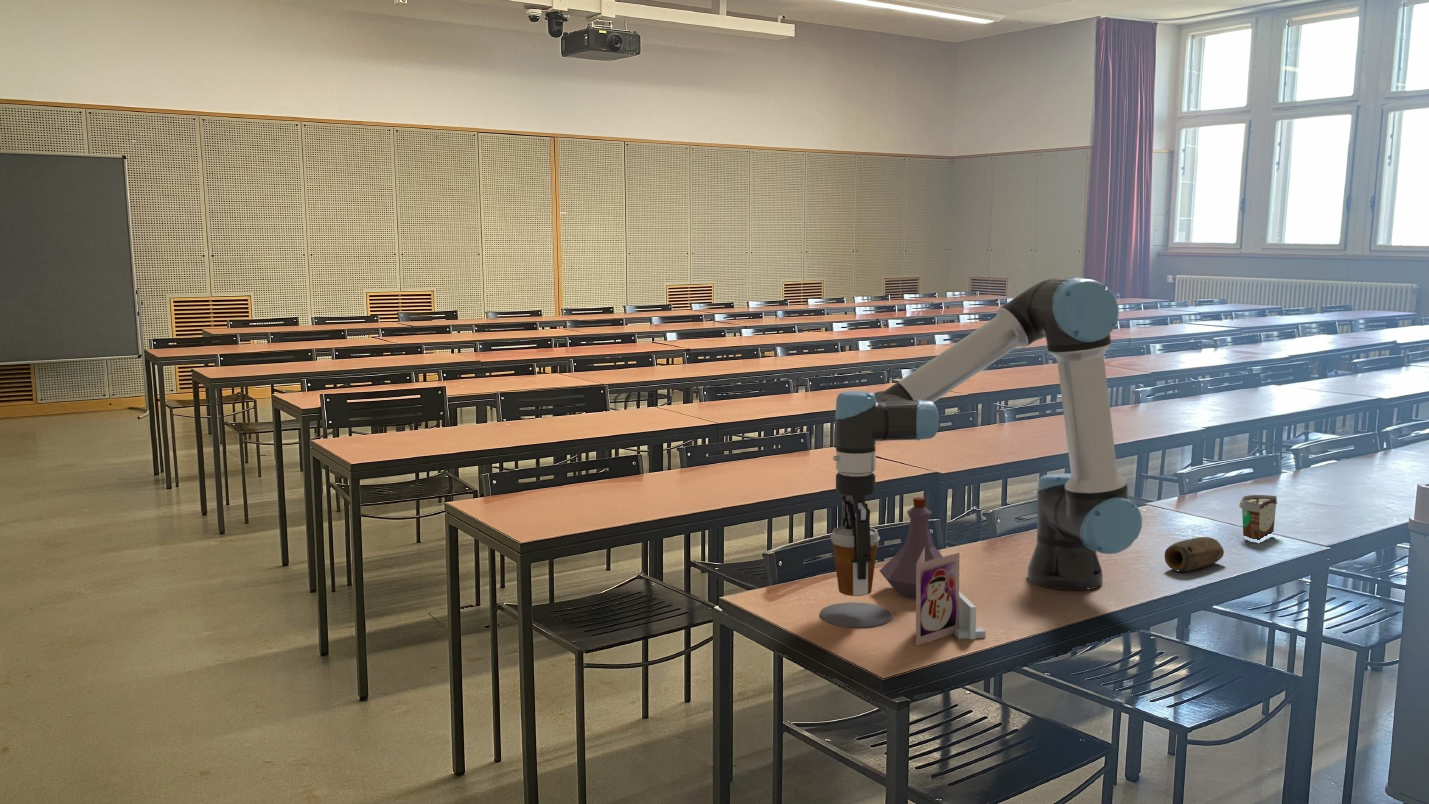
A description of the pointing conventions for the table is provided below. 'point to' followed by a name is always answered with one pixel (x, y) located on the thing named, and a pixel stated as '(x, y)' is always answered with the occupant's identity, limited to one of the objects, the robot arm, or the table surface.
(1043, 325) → the robot arm
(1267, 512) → the food container
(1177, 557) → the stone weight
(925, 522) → the flask
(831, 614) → the mat
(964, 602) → the divider
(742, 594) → the table surface
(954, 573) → the greeting card
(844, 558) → the disposable coffee cup
